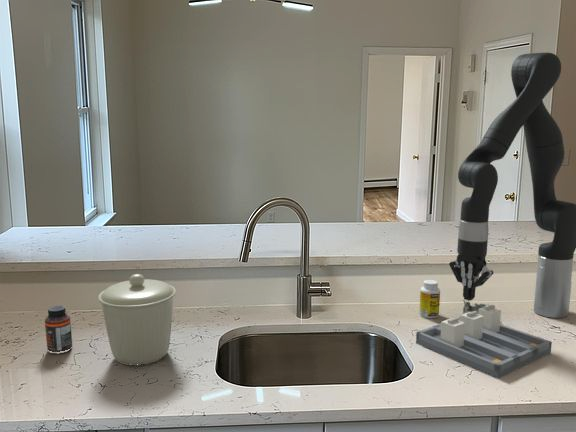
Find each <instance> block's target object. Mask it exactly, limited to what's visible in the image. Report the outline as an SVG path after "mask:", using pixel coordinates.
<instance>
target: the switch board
mask: <svg viewBox="0 0 576 432" xmlns="http://www.w3.org/2000/svg"><path fill="white" fill-rule="evenodd" d="M458 318H459V321H460V316H458ZM415 334H416V335H415V336H416V338H415V343H416V344H417V345H419V346H421V347H424V348H427V349H429V350H431V351H433V352H435V353H438V354H440V355H442V356H445V357H447V358H450V359H452V360H454V361H457V362H459V363H462V364H463V365H466V366H468V367H471V368H472V369H475V370H478V371H480V372H482V373H484V374H487V375H489V376H491V377H493V378H496V379H499V378H501V377H503V376H505V375H508V374H510V373H512V372H514V371H517V370H518V369H521V368H522V367H524V366H527V365H529V364H531V363H533V362H535V361H538V360H539V359H542V358H543V357H546V356H548V355H550V354H551V353H552V344H553V342H552V341H551V340H548V339H544V338H542V337H539V336H537V335H534V334H530V333H528V332H525V331H521V330H519V329H516V328H513V327H510V326H507V325H504V324H501V323H500V331H499V332H497V333H495V332H493V331H490V330H487V329H484V328H483V332H482V339H479V340H477V339H474V338H472V337H469V336H467V335H464V346H461V347H456V346H454V345H451V344H449V343H447V342H444V341H442V340H440V339H441V323H438V324H436V325H433V326H431V327H428V328H424V329H422V330H419V331H417V332H415Z"/></svg>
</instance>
